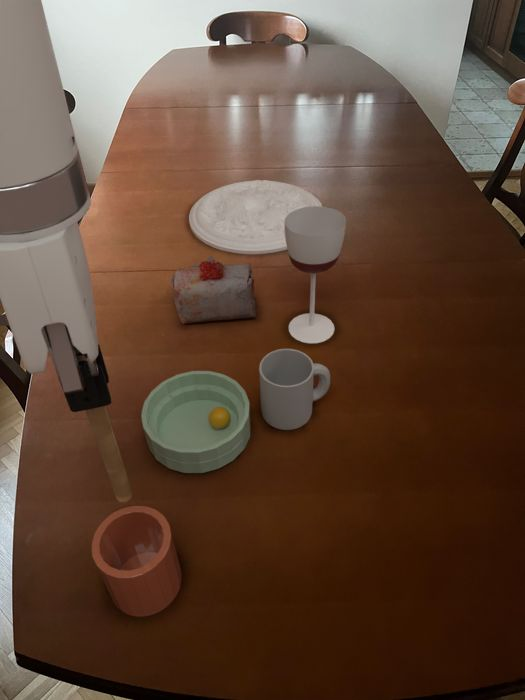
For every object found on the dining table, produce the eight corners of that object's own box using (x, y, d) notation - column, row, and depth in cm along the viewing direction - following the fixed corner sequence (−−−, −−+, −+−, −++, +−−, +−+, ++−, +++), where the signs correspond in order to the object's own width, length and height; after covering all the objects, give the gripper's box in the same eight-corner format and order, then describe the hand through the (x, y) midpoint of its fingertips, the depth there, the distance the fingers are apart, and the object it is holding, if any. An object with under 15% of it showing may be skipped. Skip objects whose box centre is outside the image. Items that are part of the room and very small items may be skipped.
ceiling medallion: (352, 218, 121) (353, 204, 119) (245, 272, 109) (244, 257, 107) (265, 172, 137) (264, 159, 135) (163, 214, 125) (161, 200, 123)
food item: (175, 330, 97) (167, 282, 91) (176, 300, 103) (168, 253, 96) (257, 323, 98) (255, 274, 91) (254, 294, 104) (251, 246, 97)
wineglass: (280, 316, 99) (279, 210, 85) (330, 309, 100) (337, 203, 86) (290, 347, 93) (291, 239, 80) (343, 340, 94) (353, 231, 81)
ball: (212, 435, 80) (210, 421, 78) (207, 419, 82) (205, 405, 80) (233, 430, 81) (232, 416, 79) (228, 414, 83) (226, 400, 81)
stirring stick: (116, 504, 57) (63, 354, 43) (115, 490, 58) (63, 340, 45) (133, 500, 57) (85, 350, 44) (131, 486, 59) (84, 336, 45)
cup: (254, 400, 85) (252, 355, 79) (319, 383, 87) (321, 338, 81) (270, 437, 80) (269, 393, 74) (338, 418, 82) (342, 374, 76)
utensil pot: (113, 626, 63) (94, 587, 56) (106, 558, 68) (88, 516, 62) (187, 604, 64) (177, 564, 58) (175, 539, 70) (164, 497, 64)
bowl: (156, 487, 75) (149, 464, 72) (141, 407, 85) (135, 383, 82) (263, 460, 78) (262, 436, 74) (236, 385, 88) (234, 361, 84)
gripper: (-32, 143, 40) (43, 342, 53) (-61, 272, 29) (43, 485, 42) (80, 129, 42) (127, 326, 54) (93, 247, 30) (149, 461, 43)
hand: (90, 394), depth 48 cm, fingers closed on stirring stick
